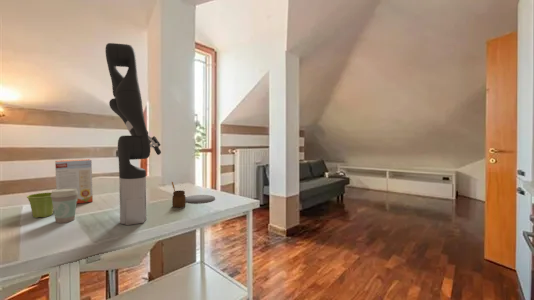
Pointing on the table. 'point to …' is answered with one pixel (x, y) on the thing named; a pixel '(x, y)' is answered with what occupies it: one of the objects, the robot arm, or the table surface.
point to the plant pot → (41, 204)
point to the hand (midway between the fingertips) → (152, 154)
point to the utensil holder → (178, 198)
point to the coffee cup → (64, 204)
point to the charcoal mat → (199, 198)
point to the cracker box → (75, 177)
